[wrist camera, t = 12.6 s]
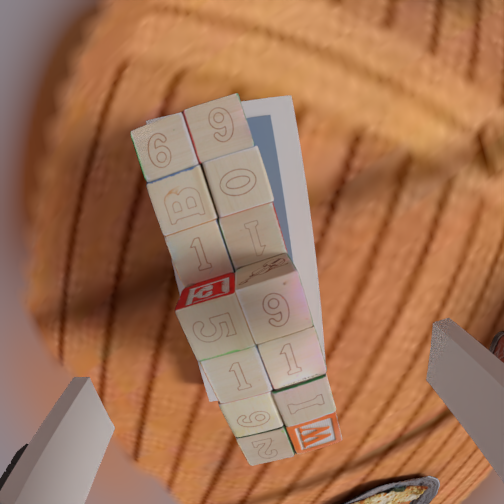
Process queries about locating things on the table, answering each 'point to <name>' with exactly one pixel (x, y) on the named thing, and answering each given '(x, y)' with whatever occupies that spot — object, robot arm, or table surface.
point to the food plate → (400, 492)
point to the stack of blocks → (238, 280)
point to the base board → (283, 195)
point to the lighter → (498, 346)
